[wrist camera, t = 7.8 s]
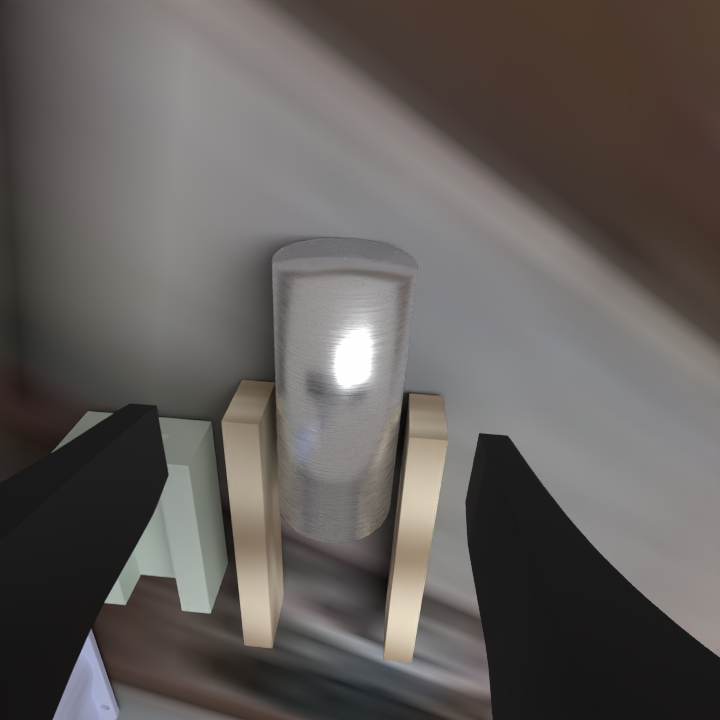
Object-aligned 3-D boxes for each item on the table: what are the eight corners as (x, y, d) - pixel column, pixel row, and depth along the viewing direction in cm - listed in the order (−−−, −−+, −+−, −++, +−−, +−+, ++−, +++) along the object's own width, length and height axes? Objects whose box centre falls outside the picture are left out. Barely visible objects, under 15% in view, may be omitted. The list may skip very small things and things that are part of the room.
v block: (227, 563, 24) (210, 613, 22) (124, 553, 25) (97, 602, 22) (211, 421, 20) (188, 465, 18) (87, 411, 21) (50, 453, 18)
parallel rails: (411, 609, 25) (411, 662, 23) (258, 594, 25) (244, 645, 23) (443, 395, 19) (447, 440, 17) (242, 379, 19) (221, 421, 17)
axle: (387, 463, 21) (393, 545, 18) (285, 459, 21) (271, 541, 18) (411, 241, 17) (425, 293, 13) (281, 234, 16) (261, 285, 13)
